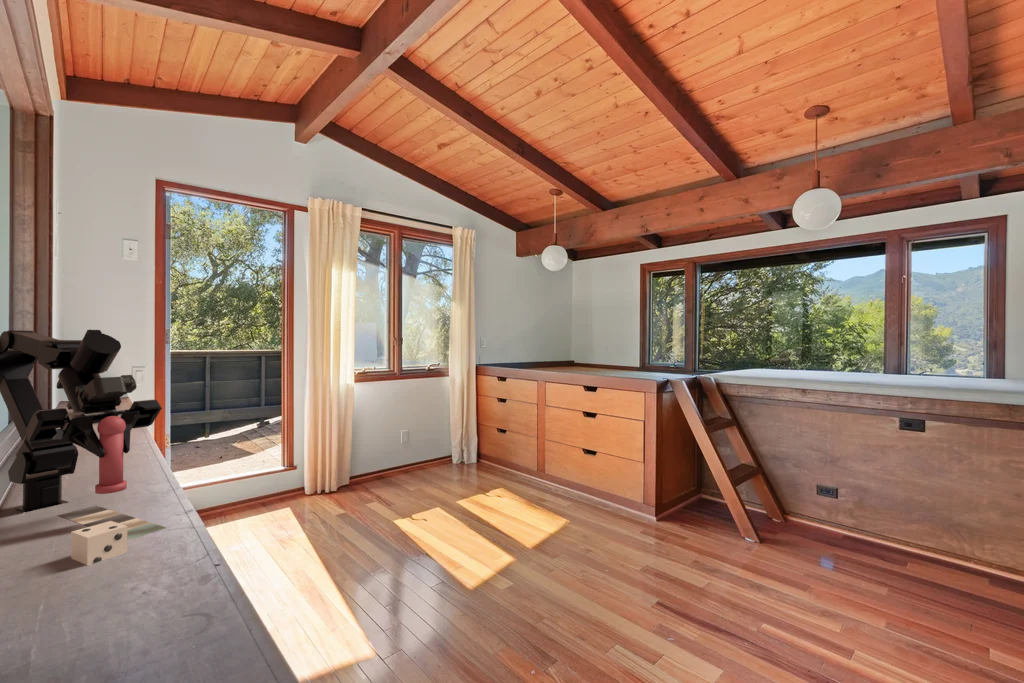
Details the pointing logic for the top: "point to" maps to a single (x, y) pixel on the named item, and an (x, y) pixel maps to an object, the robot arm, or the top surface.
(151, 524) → the board
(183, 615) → the top surface
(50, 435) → the robot arm
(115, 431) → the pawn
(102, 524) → the die
